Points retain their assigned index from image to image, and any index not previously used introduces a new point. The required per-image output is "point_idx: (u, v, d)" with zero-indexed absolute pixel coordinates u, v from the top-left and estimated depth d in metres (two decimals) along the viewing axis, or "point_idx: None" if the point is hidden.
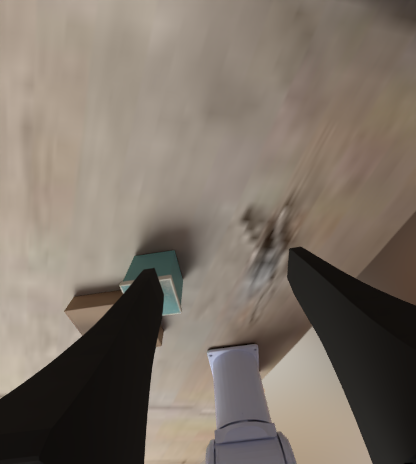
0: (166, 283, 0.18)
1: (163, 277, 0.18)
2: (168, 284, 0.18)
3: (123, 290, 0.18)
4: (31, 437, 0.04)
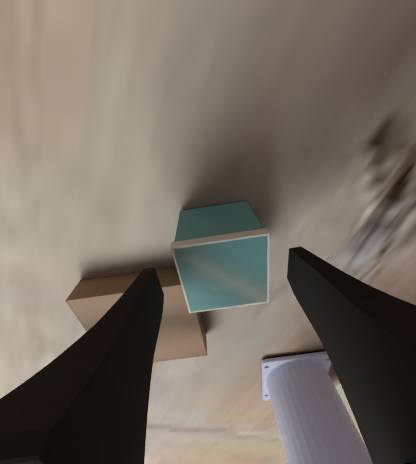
0: (259, 243, 0.10)
1: (253, 232, 0.10)
2: (261, 246, 0.10)
3: (177, 257, 0.10)
4: (31, 437, 0.04)
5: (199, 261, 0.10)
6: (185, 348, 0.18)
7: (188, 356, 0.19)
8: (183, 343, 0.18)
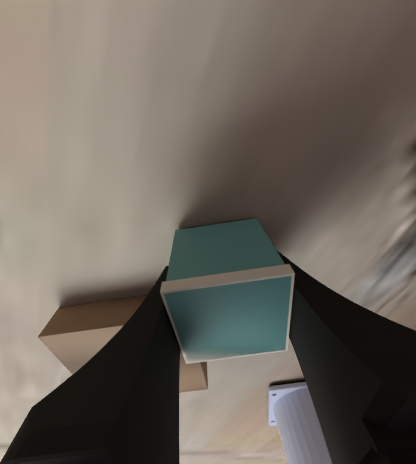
0: (279, 285, 0.07)
1: (272, 269, 0.07)
2: (282, 288, 0.07)
3: (168, 303, 0.07)
4: (96, 429, 0.04)
5: (199, 307, 0.07)
6: (183, 382, 0.16)
7: (186, 390, 0.16)
8: (181, 378, 0.15)
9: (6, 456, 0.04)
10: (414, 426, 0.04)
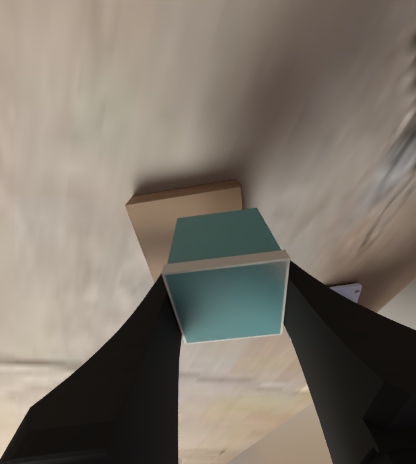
0: (275, 269, 0.07)
1: (268, 255, 0.07)
2: (278, 272, 0.08)
3: (169, 284, 0.08)
4: (94, 429, 0.04)
5: (198, 289, 0.08)
6: None
7: None
8: None
9: (4, 456, 0.04)
10: None
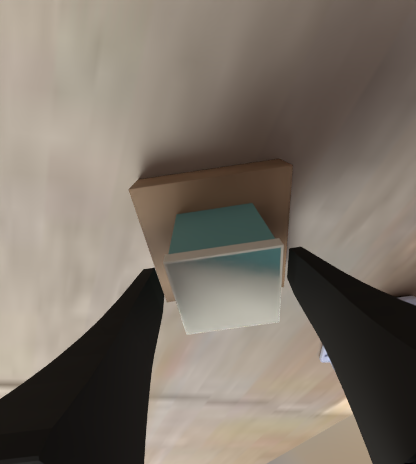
0: (270, 256, 0.08)
1: (263, 243, 0.08)
2: (273, 259, 0.08)
3: (171, 273, 0.08)
4: (31, 437, 0.04)
5: (198, 277, 0.08)
6: None
7: None
8: None
9: None
10: None
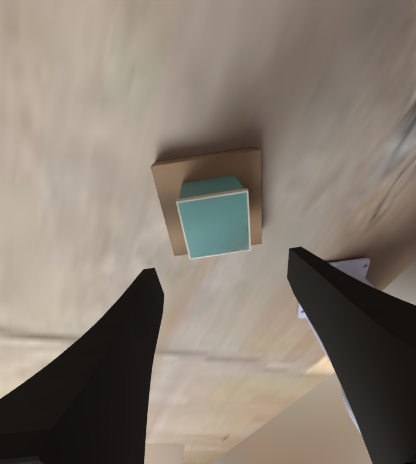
0: (241, 198, 0.13)
1: (236, 190, 0.13)
2: (242, 201, 0.13)
3: (180, 210, 0.13)
4: (31, 437, 0.04)
5: (197, 213, 0.13)
6: None
7: None
8: None
9: None
10: None
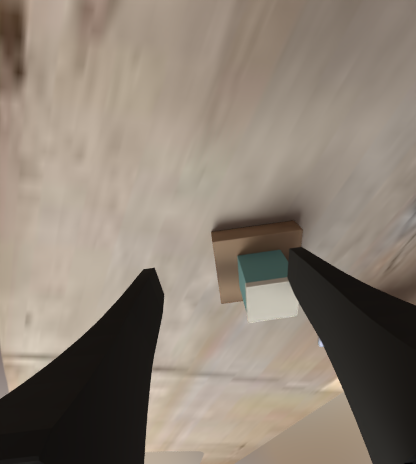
0: None
1: None
2: None
3: (248, 292, 0.17)
4: (31, 437, 0.04)
5: (260, 293, 0.17)
6: None
7: None
8: None
9: None
10: None
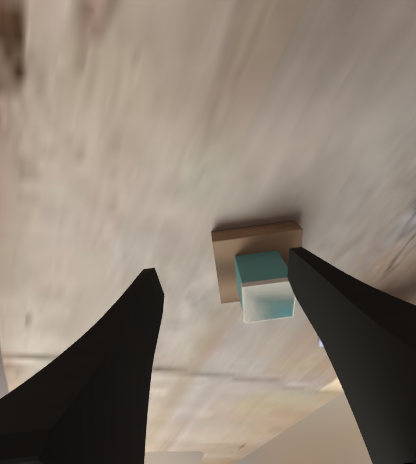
0: None
1: None
2: None
3: (244, 292, 0.17)
4: (31, 437, 0.04)
5: (256, 294, 0.17)
6: None
7: None
8: None
9: None
10: None
